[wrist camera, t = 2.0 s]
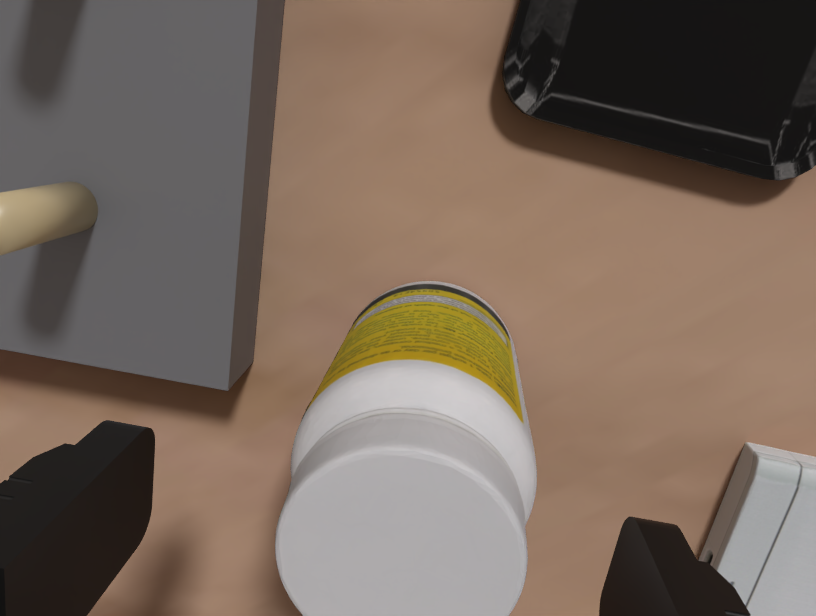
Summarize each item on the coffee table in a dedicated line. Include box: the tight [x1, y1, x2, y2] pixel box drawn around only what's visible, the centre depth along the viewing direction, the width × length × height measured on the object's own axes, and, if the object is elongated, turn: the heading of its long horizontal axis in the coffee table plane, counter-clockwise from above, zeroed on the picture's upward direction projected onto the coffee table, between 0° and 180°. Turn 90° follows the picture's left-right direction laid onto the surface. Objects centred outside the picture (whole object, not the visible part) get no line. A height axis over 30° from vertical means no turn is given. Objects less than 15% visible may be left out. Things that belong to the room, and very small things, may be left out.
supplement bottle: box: [275, 281, 537, 616], centre depth 14 cm, size 5×5×8 cm
